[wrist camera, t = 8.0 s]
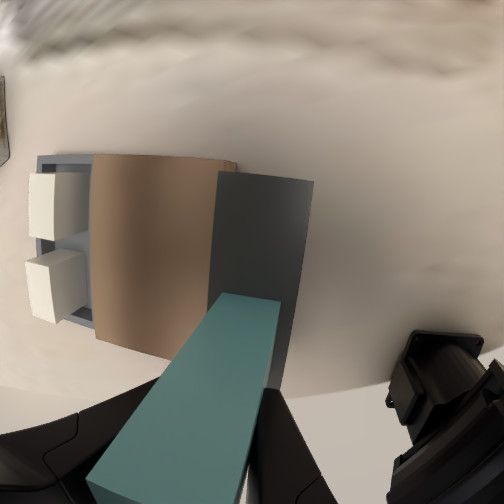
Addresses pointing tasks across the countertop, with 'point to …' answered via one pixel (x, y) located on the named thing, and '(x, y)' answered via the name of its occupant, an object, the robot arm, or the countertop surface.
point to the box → (75, 241)
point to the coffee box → (3, 126)
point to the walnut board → (151, 248)
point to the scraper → (218, 356)
